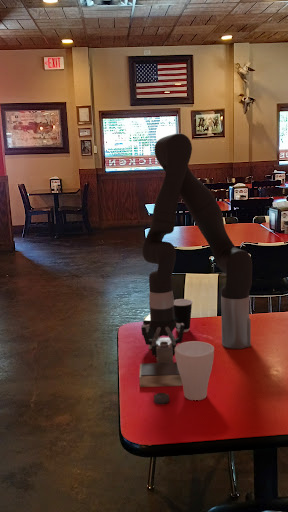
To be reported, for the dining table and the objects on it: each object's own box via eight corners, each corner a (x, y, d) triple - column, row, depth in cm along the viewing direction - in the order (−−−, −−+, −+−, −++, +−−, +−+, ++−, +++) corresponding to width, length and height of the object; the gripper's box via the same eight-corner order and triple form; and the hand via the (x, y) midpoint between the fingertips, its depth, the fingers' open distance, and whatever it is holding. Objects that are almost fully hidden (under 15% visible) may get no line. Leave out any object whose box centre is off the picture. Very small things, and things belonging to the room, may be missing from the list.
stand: (180, 372, 146) (180, 361, 146) (182, 385, 137) (181, 374, 137) (140, 373, 147) (140, 362, 146) (139, 387, 138) (139, 375, 137)
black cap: (170, 398, 131) (169, 393, 131) (168, 405, 127) (167, 400, 127) (155, 397, 132) (155, 392, 131) (153, 404, 128) (152, 399, 127)
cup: (175, 387, 137) (173, 341, 134) (212, 386, 136) (212, 340, 134) (176, 405, 126) (175, 356, 124) (217, 404, 126) (216, 355, 123)
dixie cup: (167, 331, 181) (166, 302, 179) (180, 325, 187) (179, 297, 185) (185, 335, 177) (184, 306, 174) (197, 328, 183) (196, 300, 180)
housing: (156, 352, 159) (155, 335, 158) (171, 351, 159) (170, 334, 158) (157, 363, 150) (156, 345, 149) (173, 363, 150) (172, 344, 149)
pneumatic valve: (165, 341, 171) (164, 308, 169) (156, 354, 160) (155, 319, 158) (150, 340, 173) (149, 308, 171) (140, 353, 162) (139, 318, 160)
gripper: (183, 299, 154) (185, 350, 158) (138, 302, 155) (141, 352, 158) (185, 306, 147) (187, 359, 150) (138, 309, 147) (141, 361, 151)
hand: (164, 355), depth 154 cm, fingers closed on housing, 5 cm apart
